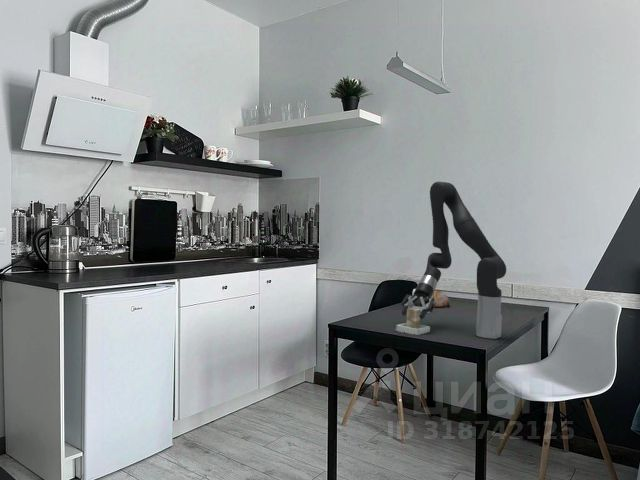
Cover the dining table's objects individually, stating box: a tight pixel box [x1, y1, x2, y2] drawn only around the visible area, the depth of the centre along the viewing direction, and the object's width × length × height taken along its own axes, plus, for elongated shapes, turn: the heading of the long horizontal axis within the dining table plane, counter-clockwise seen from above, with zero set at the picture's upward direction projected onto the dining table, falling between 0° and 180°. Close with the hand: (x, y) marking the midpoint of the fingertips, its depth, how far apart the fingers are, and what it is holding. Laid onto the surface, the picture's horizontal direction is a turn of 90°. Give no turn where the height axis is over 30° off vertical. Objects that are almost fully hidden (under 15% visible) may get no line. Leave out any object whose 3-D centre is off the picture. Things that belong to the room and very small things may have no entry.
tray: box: [395, 322, 431, 336], centre depth 215 cm, size 11×10×2 cm
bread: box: [431, 289, 450, 309], centre depth 287 cm, size 16×20×10 cm
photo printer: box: [411, 288, 431, 314], centre depth 265 cm, size 10×4×12 cm, turn 56°
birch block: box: [405, 307, 421, 329], centre depth 215 cm, size 4×4×9 cm
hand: (411, 316), depth 213 cm, fingers open, 8 cm apart
